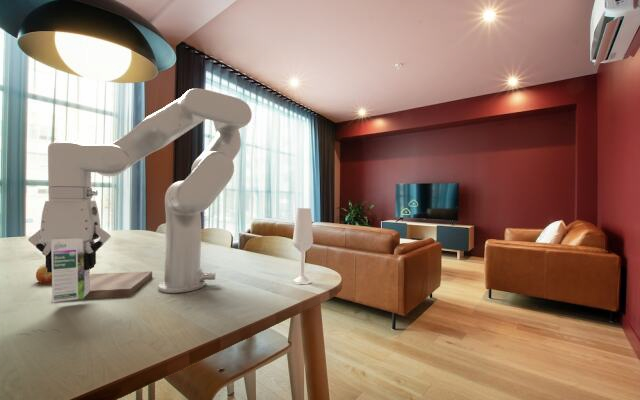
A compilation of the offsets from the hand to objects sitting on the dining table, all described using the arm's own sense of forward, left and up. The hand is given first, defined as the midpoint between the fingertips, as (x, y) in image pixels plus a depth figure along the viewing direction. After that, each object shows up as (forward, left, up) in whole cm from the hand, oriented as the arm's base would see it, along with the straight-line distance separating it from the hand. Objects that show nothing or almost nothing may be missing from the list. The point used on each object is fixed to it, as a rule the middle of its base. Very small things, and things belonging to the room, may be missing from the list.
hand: (71, 269), depth 65 cm
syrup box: (0, 0, -7) cm, 7 cm away
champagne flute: (-58, -9, -9) cm, 60 cm away
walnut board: (-2, -14, -9) cm, 16 cm away
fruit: (+16, -26, -9) cm, 31 cm away
